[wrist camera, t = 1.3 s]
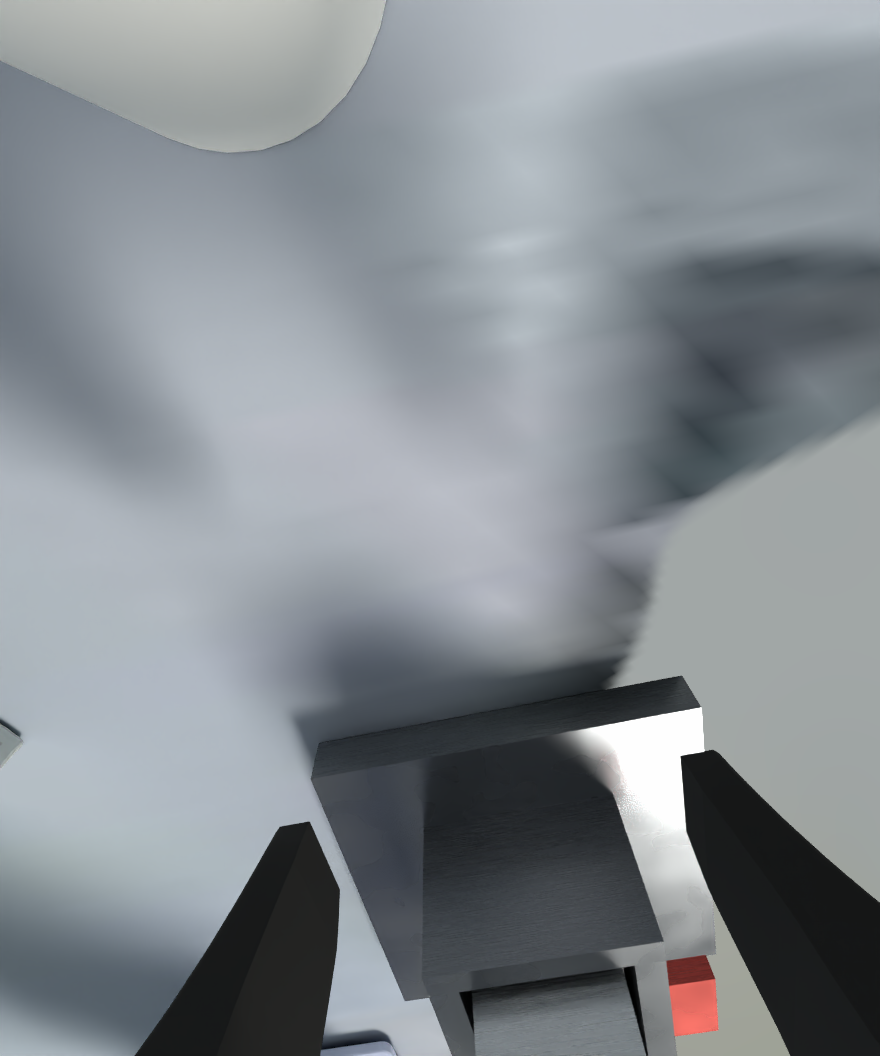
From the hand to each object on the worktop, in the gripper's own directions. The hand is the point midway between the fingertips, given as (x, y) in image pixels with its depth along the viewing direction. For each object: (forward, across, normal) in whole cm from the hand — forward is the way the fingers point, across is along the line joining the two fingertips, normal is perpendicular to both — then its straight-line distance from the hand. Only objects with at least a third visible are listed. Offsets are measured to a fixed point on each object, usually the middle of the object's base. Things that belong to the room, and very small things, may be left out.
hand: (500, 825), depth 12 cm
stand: (+7, 0, +10) cm, 12 cm away
